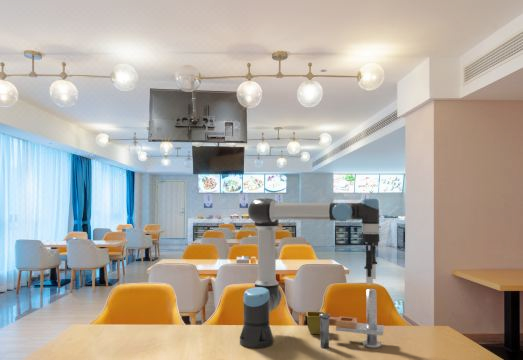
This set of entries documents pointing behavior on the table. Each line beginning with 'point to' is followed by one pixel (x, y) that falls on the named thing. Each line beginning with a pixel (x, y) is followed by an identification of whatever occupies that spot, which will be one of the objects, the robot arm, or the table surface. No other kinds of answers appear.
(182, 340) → the table surface
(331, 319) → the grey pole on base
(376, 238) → the robot arm
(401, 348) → the table surface
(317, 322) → the flower pot
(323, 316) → the pin
